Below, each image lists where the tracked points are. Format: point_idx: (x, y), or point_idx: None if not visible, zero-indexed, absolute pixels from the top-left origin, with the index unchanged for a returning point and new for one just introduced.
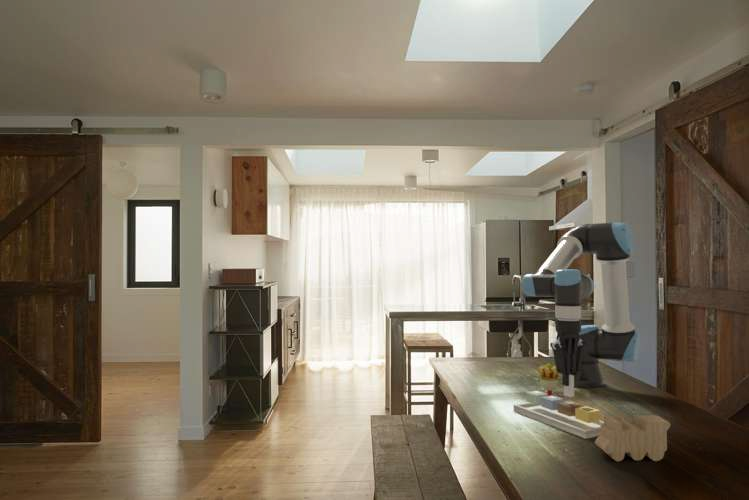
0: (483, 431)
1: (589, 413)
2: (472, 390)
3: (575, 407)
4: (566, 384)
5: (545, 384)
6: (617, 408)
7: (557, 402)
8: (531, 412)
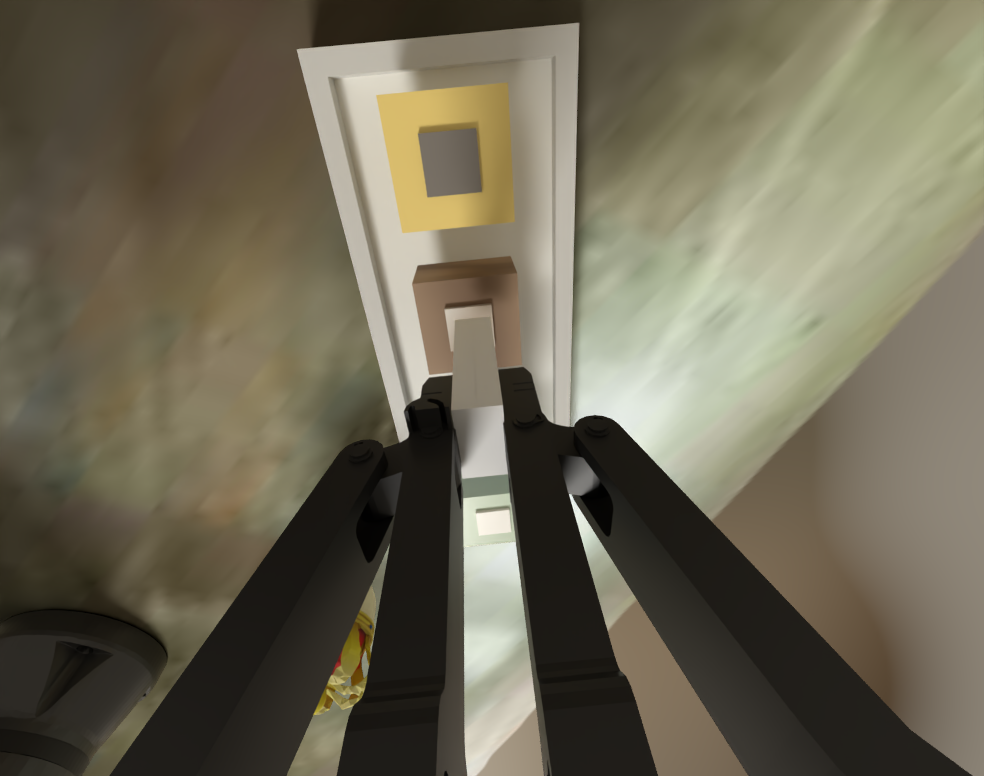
0: (863, 341)
1: (493, 84)
2: (528, 655)
3: (464, 274)
4: (525, 374)
5: (368, 593)
6: (75, 390)
7: None
8: (568, 422)
